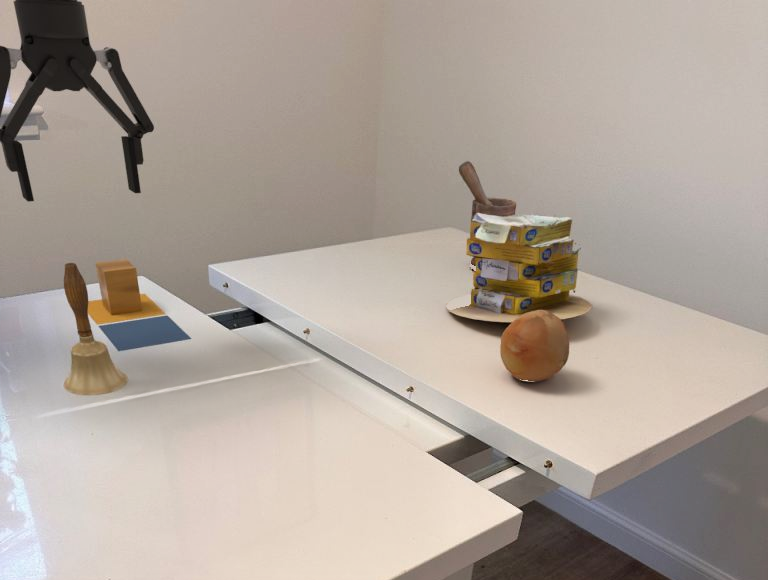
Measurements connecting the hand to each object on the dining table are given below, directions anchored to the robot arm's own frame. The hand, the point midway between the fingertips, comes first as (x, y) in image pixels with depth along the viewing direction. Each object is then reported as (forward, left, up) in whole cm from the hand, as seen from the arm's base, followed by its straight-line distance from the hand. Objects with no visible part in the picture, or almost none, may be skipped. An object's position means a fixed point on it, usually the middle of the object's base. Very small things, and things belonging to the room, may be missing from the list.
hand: (83, 195), depth 94 cm
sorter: (-8, +6, -21) cm, 23 cm away
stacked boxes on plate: (+16, +66, -21) cm, 71 cm away
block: (-14, +6, -20) cm, 25 cm away
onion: (+37, +50, -21) cm, 66 cm away
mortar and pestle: (-8, +77, -21) cm, 80 cm away
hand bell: (+12, -5, -21) cm, 25 cm away
